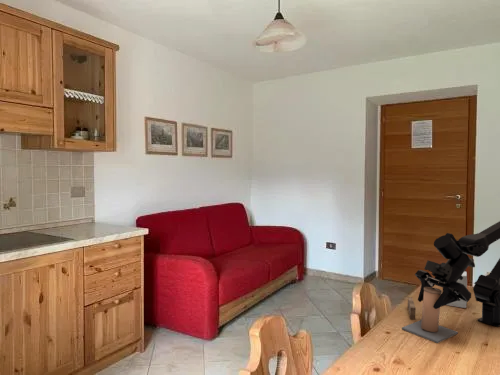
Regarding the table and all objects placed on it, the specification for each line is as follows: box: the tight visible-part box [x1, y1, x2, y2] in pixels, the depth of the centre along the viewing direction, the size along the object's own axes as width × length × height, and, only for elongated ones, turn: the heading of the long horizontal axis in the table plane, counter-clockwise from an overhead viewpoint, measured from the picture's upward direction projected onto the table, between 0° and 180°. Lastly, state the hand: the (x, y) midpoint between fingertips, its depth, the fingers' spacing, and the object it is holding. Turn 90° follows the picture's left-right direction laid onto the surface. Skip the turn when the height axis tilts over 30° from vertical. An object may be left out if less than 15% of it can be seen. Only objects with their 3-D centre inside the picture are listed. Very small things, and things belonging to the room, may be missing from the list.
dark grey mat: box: [401, 319, 458, 344], centre depth 119 cm, size 12×12×1 cm
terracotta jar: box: [421, 286, 443, 332], centre depth 119 cm, size 5×5×13 cm
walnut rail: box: [407, 296, 416, 320], centre depth 135 cm, size 12×2×4 cm, turn 161°
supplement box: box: [446, 271, 468, 309], centre depth 144 cm, size 7×7×13 cm
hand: (426, 304), depth 118 cm, fingers open, 6 cm apart
